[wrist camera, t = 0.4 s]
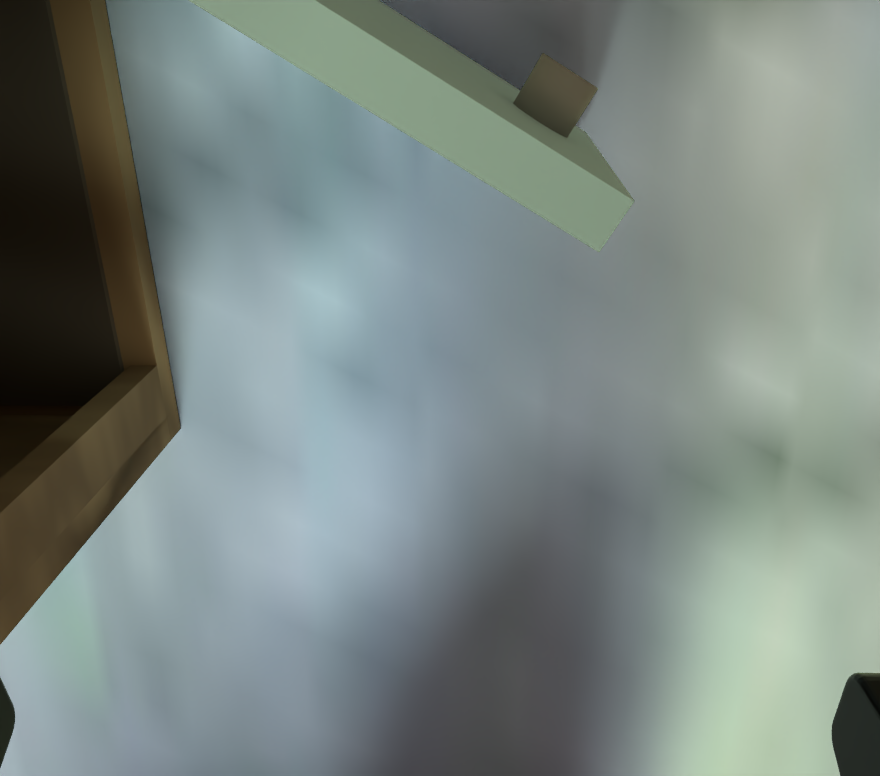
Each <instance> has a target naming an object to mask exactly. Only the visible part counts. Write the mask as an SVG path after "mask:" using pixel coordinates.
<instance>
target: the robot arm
mask: <svg viewBox="0 0 880 776" xmlns="http://www.w3.org/2000/svg"><path fill="white" fill-rule="evenodd" d="M14 724H15V711H14V706H13V703H12V701H11V699H10V697H9V695H8V693H7V691H6V688H5V686H4V684H3V682H2V680H1V678H0V767H1V764H2V762H3V759H4V756H5V753H6V750H7V747H8V744H9V741H10V738H11V736H12V733H13V729H14ZM832 743H833V748H834V752H835V756H836V760H837V764H838V768H839V772H840V776H880V673H855V674H853V675H851V676H850V677H849V678H848V680H847V682H846V685H845V687H844V690H843V693H842V696H841V699H840V702H839V705H838V708H837V711H836V714H835V717H834V720H833V724H832Z"/></svg>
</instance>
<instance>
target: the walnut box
mask: <svg viewBox="0 0 880 776" xmlns="http://www.w3.org/2000/svg"><path fill="white" fill-rule="evenodd" d="M180 429H181V427H180V421H179V416H178V410H177V404H176V399H175V393H174V387H173V382H172V376H171V370H170V365H169V359H168V353H167V348H166V342H165V337H164V331H163V325H162V320H161V314H160V308H159V303H158V297H157V291H156V286H155V280H154V274H153V269H152V263H151V258H150V252H149V246H148V241H147V235H146V229H145V224H144V218H143V212H142V207H141V201H140V195H139V190H138V184H137V178H136V173H135V167H134V162H133V156H132V150H131V145H130V139H129V133H128V128H127V122H126V116H125V111H124V105H123V99H122V94H121V88H120V82H119V77H118V71H117V66H116V60H115V54H114V49H113V43H112V37H111V32H110V26H109V20H108V15H107V9H106V3H105V0H0V644H1V643H2V642H3V641H4V640H5V638H6V637H7V636H8V635H9V634H10V632H11V631H12V630H13V629H14V628H15V626H16V625H17V624H18V623H19V622H20V620H21V619H22V618H23V617H24V616H25V614H26V613H27V612H28V611H29V610H30V608H31V607H32V606H33V605H34V604H35V602H36V601H37V600H38V599H39V598H40V596H41V595H42V594H43V593H44V592H45V590H46V589H47V588H48V587H49V586H50V584H51V583H52V582H53V581H54V580H55V578H56V577H57V576H58V575H59V574H60V572H61V571H62V570H63V569H64V568H65V566H66V565H67V564H68V563H69V562H70V560H71V559H72V558H73V557H74V556H75V554H76V553H77V552H78V551H79V550H80V548H81V547H82V546H83V545H84V544H85V542H86V541H87V540H88V539H89V538H90V536H91V535H92V534H93V533H94V532H95V531H96V529H97V528H98V527H99V526H100V525H101V523H102V522H103V521H104V520H105V519H106V517H107V516H108V515H109V514H110V513H111V511H112V510H113V509H114V508H115V507H116V505H117V504H118V503H119V502H120V501H121V499H122V498H123V497H124V496H125V495H126V493H127V492H128V491H129V490H130V489H131V487H132V486H133V485H134V484H135V483H136V481H137V480H138V479H139V478H140V477H141V475H142V474H143V473H144V472H145V471H146V469H147V468H148V467H149V466H150V465H151V463H152V462H153V461H154V460H155V459H156V457H157V456H158V455H159V454H160V453H161V451H162V450H163V449H164V448H165V447H166V445H167V444H168V443H169V442H170V441H171V439H172V438H173V437H174V436H175V435H176V433H177V432H178V431H179V430H180Z"/></svg>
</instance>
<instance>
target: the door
mask: <svg viewBox="0 0 880 776" xmlns="http://www.w3.org/2000/svg"><path fill="white" fill-rule="evenodd" d="M189 1H191V2H192V3H194V4H195V5H197V6H199V7H200V8H202V9H204V10H205V11H207V12H208V13H210V14H212V15H213V16H215V17H217V18H218V19H220V20H221V21H223V22H225V23H226V24H228V25H230V26H231V27H233V28H235V29H236V30H238V31H239V32H241V33H243V34H244V35H246V36H248V37H249V38H251V39H252V40H254V41H256V42H257V43H259V44H261V45H262V46H264V47H265V48H267V49H269V50H270V51H272V52H274V53H275V54H277V55H278V56H280V57H282V58H283V59H285V60H287V61H288V62H290V63H291V64H293V65H295V66H296V67H298V68H300V69H301V70H303V71H305V72H306V73H308V74H309V75H311V76H313V77H314V78H316V79H318V80H319V81H321V82H322V83H324V84H326V85H327V86H329V87H331V88H332V89H334V90H335V91H337V92H339V93H340V94H342V95H344V96H345V97H347V98H348V99H350V100H352V101H353V102H355V103H357V104H358V105H360V106H361V107H363V108H365V109H366V110H368V111H370V112H371V113H373V114H375V115H376V116H378V117H379V118H381V119H383V120H384V121H386V122H388V123H389V124H391V125H392V126H394V127H396V128H397V129H399V130H401V131H402V132H404V133H405V134H407V135H409V136H410V137H412V138H414V139H415V140H417V141H418V142H420V143H422V144H423V145H425V146H427V147H428V148H430V149H431V150H433V151H435V152H436V153H438V154H440V155H441V156H443V157H445V158H446V159H448V160H449V161H451V162H453V163H454V164H456V165H458V166H459V167H461V168H462V169H464V170H466V171H467V172H469V173H471V174H472V175H474V176H475V177H477V178H479V179H480V180H482V181H484V182H485V183H487V184H488V185H490V186H492V187H493V188H495V189H497V190H498V191H500V192H502V193H503V194H505V195H506V196H508V197H510V198H511V199H513V200H515V201H516V202H518V203H519V204H521V205H523V206H524V207H526V208H528V209H529V210H531V211H532V212H534V213H536V214H537V215H539V216H541V217H542V218H544V219H545V220H547V221H549V222H550V223H552V224H554V225H555V226H557V227H558V228H560V229H562V230H563V231H565V232H567V233H568V234H570V235H572V236H573V237H575V238H576V239H578V240H580V241H581V242H583V243H585V244H586V245H588V246H589V247H591V248H593V249H594V250H596V251H598V252H600V250H601V249H602V247H603V246H604V244H605V243H606V242H607V240H608V239H609V237H610V236H611V234H612V233H613V231H614V230H615V229H616V227H617V226H618V224H619V223H620V221H621V220H622V218H623V217H624V215H625V214H626V213H627V211H628V210H629V208H630V207H631V205H632V204H633V202H634V200H633V198H632V197H631V196H630V194H629V193H628V191H627V190H626V188H625V187H624V186H623V184H622V183H621V181H620V180H619V179H618V177H617V176H616V174H615V173H614V172H613V170H612V169H611V167H610V166H609V164H608V163H607V162H606V160H605V159H604V157H603V156H602V155H601V153H600V152H599V150H598V149H597V147H596V146H595V145H594V143H593V142H592V140H591V139H590V138H589V136H588V135H587V133H586V132H585V131H583V130H581V129H580V128H578V127H577V126H575V125H576V123H577V122H578V120H579V118H580V117H581V115H582V114H583V112H584V110H585V109H586V107H587V106H588V104H589V103H590V101H591V99H592V98H593V96H594V95H595V93H596V91H597V90H598V88H596V87H595V86H593V85H592V84H590V83H589V82H587V81H586V80H584V79H583V78H581V77H579V76H578V75H576V74H575V73H573V72H572V71H570V70H569V69H567V68H566V67H564V66H563V65H561V64H559V63H558V62H556V61H555V60H553V59H552V58H550V57H549V56H547V55H545V54H544V53H542V55H541V57H540V58H539V60H538V62H537V63H536V65H535V67H534V69H533V70H532V72H531V74H530V75H529V77H528V79H527V80H526V82H525V84H524V86H523V87H522V89H521V91H520V90H519V89H517V88H515V87H514V86H512V85H511V84H509V83H508V82H506V81H504V80H503V79H501V78H500V77H498V76H497V75H495V74H493V73H492V72H490V71H489V70H487V69H486V68H484V67H482V66H481V65H479V64H478V63H476V62H475V61H473V60H471V59H470V58H468V57H467V56H465V55H464V54H462V53H460V52H459V51H457V50H456V49H454V48H453V47H451V46H450V45H448V44H446V43H445V42H443V41H442V40H440V39H439V38H437V37H435V36H434V35H432V34H431V33H429V32H428V31H426V30H424V29H423V28H421V27H420V26H418V25H417V24H415V23H413V22H412V21H410V20H409V19H407V18H406V17H404V16H402V15H401V14H399V13H398V12H396V11H395V10H393V9H391V8H390V7H388V6H387V5H385V4H384V3H382V2H380V1H379V0H189Z"/></svg>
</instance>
